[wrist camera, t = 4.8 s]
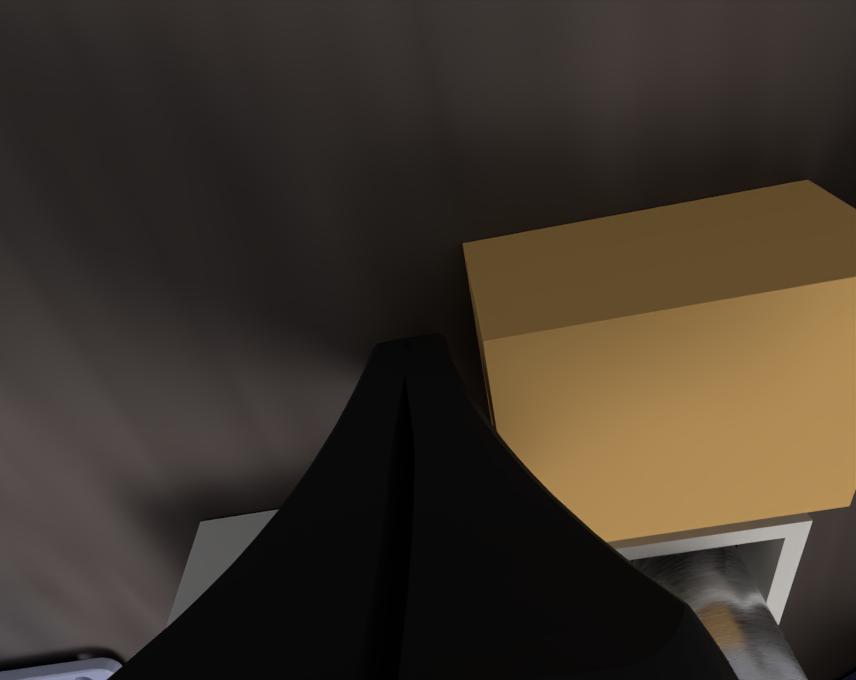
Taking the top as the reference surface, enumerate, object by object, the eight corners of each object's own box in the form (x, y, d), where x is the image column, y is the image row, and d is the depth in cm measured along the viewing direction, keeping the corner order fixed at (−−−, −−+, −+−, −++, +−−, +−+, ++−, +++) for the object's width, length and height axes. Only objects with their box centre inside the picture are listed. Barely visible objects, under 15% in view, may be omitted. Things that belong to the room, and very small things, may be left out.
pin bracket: (588, 596, 17) (604, 651, 16) (584, 494, 15) (603, 551, 13) (748, 573, 17) (777, 628, 16) (774, 465, 14) (812, 520, 13)
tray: (289, 658, 18) (272, 770, 16) (200, 521, 14) (160, 643, 12) (558, 621, 18) (583, 732, 15) (543, 468, 14) (575, 583, 11)
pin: (612, 578, 17) (714, 887, 11) (612, 507, 15) (734, 836, 10) (726, 562, 17) (884, 869, 11) (741, 488, 15) (939, 814, 9)
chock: (493, 439, 13) (516, 555, 11) (462, 243, 10) (482, 341, 8) (763, 395, 13) (849, 505, 10) (808, 179, 10) (940, 262, 8)
